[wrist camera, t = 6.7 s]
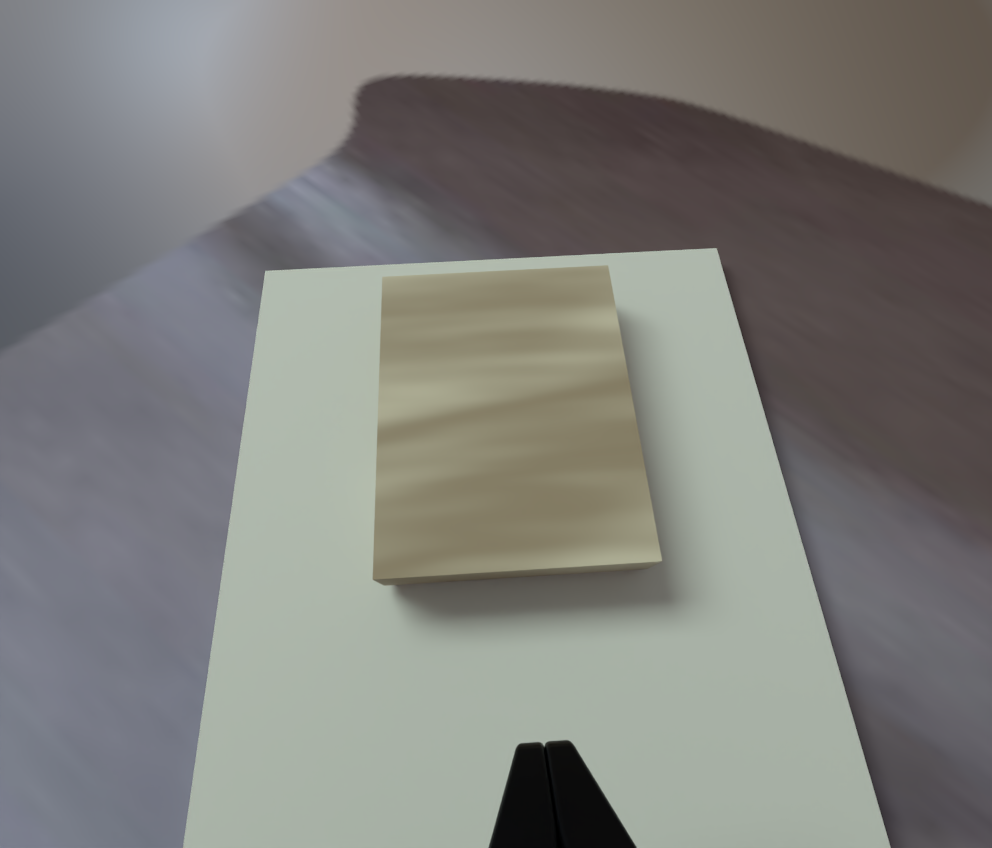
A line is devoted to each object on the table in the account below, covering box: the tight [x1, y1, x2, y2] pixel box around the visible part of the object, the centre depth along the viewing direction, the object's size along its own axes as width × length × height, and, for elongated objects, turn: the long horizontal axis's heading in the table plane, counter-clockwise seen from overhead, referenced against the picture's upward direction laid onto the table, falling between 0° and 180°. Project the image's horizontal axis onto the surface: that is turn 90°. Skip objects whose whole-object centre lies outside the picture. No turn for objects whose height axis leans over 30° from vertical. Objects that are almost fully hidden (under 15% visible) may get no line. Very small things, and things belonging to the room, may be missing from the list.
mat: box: [183, 248, 891, 848], centre depth 15 cm, size 18×16×1 cm
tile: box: [373, 265, 662, 586], centre depth 15 cm, size 2×7×9 cm
